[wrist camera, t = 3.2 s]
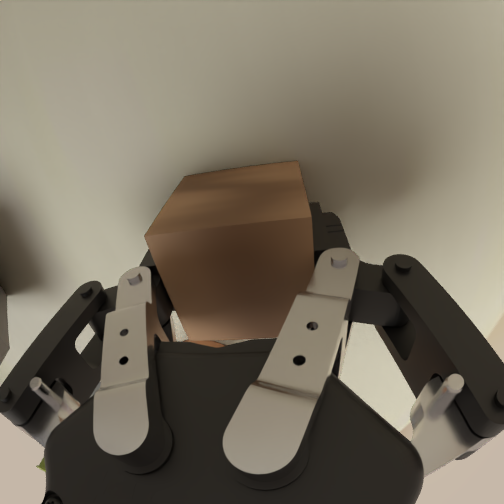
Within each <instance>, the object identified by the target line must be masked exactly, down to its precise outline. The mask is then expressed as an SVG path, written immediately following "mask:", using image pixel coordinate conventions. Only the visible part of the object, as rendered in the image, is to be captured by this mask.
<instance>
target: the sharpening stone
mask: <svg viewBox="0 0 504 504" xmlns="http://www.w3.org/2000/svg"><path fill="white" fill-rule="evenodd" d="M9 349H10V347H9V336H8V319H7V295H6V294H5V292H4V291H3V289H2V287H1V286H0V365H1V363H2V361H3V359H4V357H5V356H6V354H7V352H8V350H9Z"/></svg>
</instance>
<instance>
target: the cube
mask: <svg viewBox="0 0 504 504" xmlns="http://www.w3.org/2000/svg"><path fill="white" fill-rule="evenodd" d="M144 237H145V240H146V242H147V245H148V247H149V250H150V252H151V255H152V257H153V260H154V262H155V265H156V267H157V269H158V272H159V274H160V277H161V279H162V281H163V284H164V286H165V288H166V290H167V293H168V295H169V297H170V299H171V302H172V304H173V306H174V308H175V311H176V313H177V315H178V317H179V319H180V321H181V324H182V326H183V328H184V330H185V332H186V334H187V336H188V338H189V340H190V341H206V340H239V339H259V338H276V337H278V336H279V334H280V331H281V329H282V327H283V325H284V323H285V320H286V318H287V316H288V314H289V312H290V309H291V307H292V305H293V303H294V300H295V298H296V296H297V294H298V293H299V292H300V291H302V292H306V290H307V287H308V285H309V282H310V280H311V277H312V275H313V272H314V248H313V230H312V216H311V212H310V208H309V203H308V199H307V195H306V191H305V187H304V183H303V179H302V175H301V171H300V167H299V163H298V161H290V162H281V163H272V164H264V165H256V166H248V167H240V168H233V169H226V170H220V171H213V172H207V173H201V174H195V175H189V176H184V178H183V179H182V181H181V182H180V183H179V185H178V186H177V188H176V189H175V191H174V192H173V193H172V195H171V196H170V198H169V199H168V201H167V202H166V204H165V205H164V207H163V208H162V210H161V211H160V213H159V214H158V216H157V217H156V219H155V220H154V222H153V223H152V225H151V226H150V228H149V229H148V231H147V233H146V234H145V236H144Z"/></svg>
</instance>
